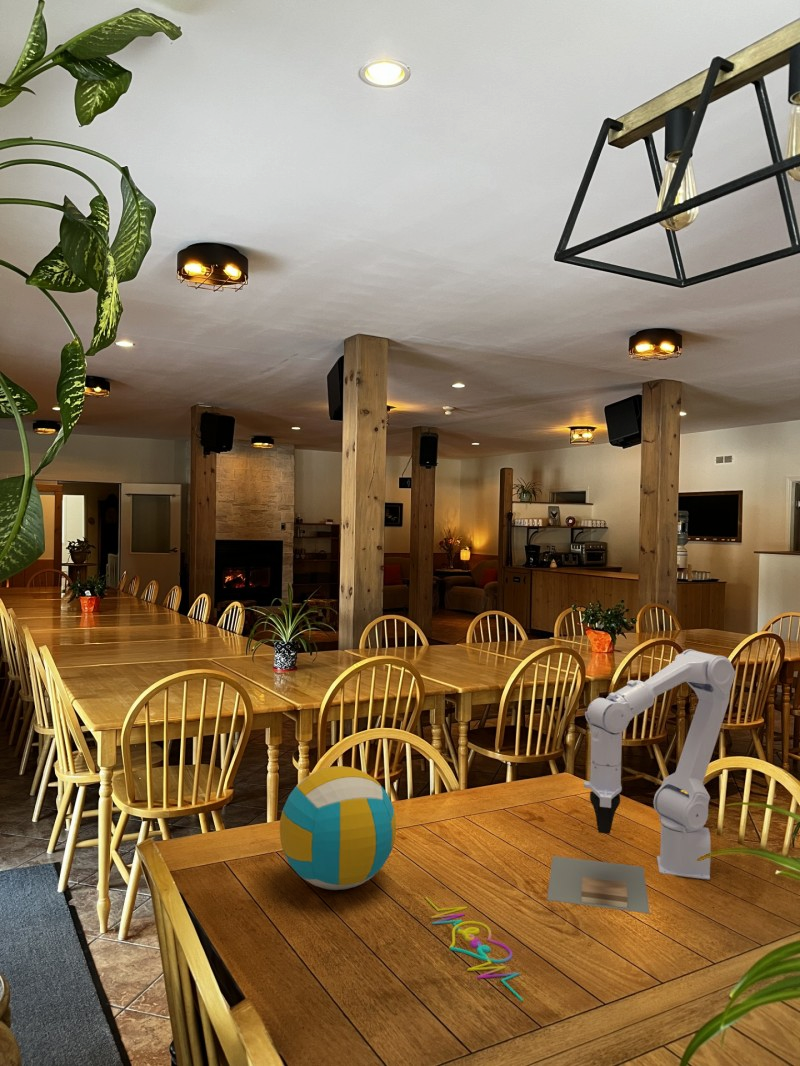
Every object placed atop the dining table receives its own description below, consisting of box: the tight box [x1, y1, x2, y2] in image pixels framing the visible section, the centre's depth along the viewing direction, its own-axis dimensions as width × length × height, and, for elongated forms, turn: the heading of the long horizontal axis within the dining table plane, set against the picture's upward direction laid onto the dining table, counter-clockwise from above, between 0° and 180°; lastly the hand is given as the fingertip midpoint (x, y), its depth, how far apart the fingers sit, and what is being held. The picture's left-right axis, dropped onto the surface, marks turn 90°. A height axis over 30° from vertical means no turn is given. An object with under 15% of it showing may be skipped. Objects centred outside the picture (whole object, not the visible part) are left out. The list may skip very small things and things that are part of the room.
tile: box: [582, 877, 627, 908], centre depth 148 cm, size 8×2×6 cm
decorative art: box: [425, 896, 524, 1003], centre depth 132 cm, size 34×1×10 cm
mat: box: [546, 855, 650, 915], centre depth 154 cm, size 18×20×1 cm
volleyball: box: [279, 765, 397, 891], centre depth 152 cm, size 22×22×22 cm
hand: (604, 832), depth 155 cm, fingers closed
